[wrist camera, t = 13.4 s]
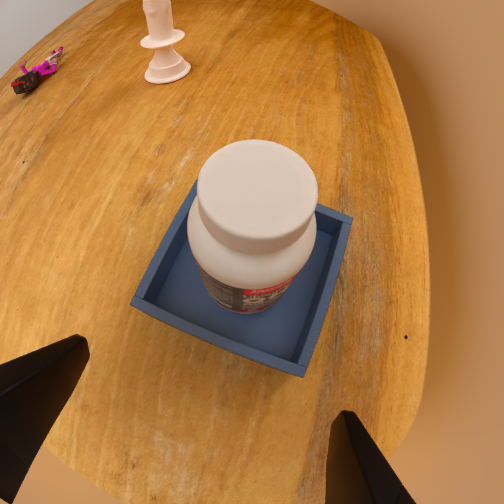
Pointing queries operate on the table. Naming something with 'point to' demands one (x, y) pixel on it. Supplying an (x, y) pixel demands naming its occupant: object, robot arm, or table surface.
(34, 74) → the character figurine
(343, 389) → the table surface
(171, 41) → the candle
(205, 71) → the table surface
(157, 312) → the tray
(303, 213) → the pill bottle
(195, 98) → the table surface
